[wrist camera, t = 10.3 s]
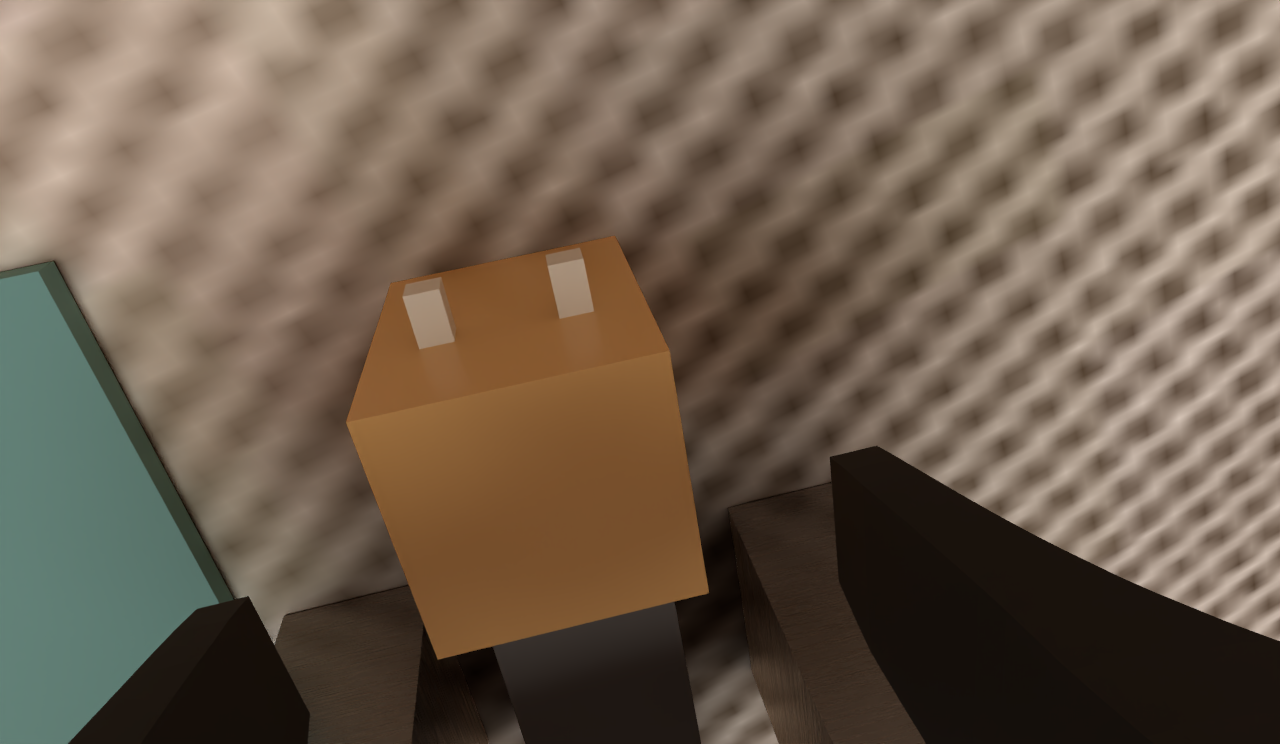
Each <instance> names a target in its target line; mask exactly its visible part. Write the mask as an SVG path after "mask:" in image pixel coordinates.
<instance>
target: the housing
mask: <svg viewBox="0 0 1280 744" xmlns="http://www.w3.org/2000/svg"><path fill="white" fill-rule="evenodd" d="M728 512H729V519H730V526H731V533H732V539H733V546H734V553H735V560H736V566H737V573H738V580H739V587H740V594H741V600H742V607H743V614H744V621H745V628H746V634H747V641H748V648H749V655H750V662H751V668H752V673H753V676H754V678H755V681H756V684H757V686H758V689H759V692H760V694H761V697H762V700H763V702H764V705H765V708H766V710H767V713H768V716H769V718H770V721H771V724H772V726H773V729H774V732H775V734H776V737H777V739H778V742H779V744H926V743H925V741H924V740H923V738H922V736H921V735H920V733H919V731H918V730H917V728H916V727H915V725H914V723H913V722H912V720H911V718H910V717H909V715H908V713H907V712H906V710H905V709H904V707H903V705H902V704H901V702H900V700H899V699H898V697H897V695H896V694H895V692H894V690H893V689H892V687H891V685H890V684H889V682H888V680H887V679H886V677H885V675H884V674H883V672H882V670H881V669H880V667H879V665H878V664H877V662H876V660H875V658H874V657H873V655H872V653H871V652H870V649H869V647H868V645H867V643H866V641H865V639H864V637H863V634H862V632H861V630H860V628H859V626H858V624H857V622H856V619H855V617H854V615H853V613H852V610H851V608H850V606H849V604H848V601H847V599H846V597H845V594H844V592H843V590H842V588H841V585H840V583H839V579H838V565H837V551H836V536H835V522H834V508H833V494H832V483H828V484H824V485H820V486H816V487H812V488H808V489H804V490H799V491H795V492H791V493H787V494H783V495H779V496H775V497H771V498H767V499H762V500H758V501H754V502H750V503H746V504H742V505H738V506H734V507H730V508H728ZM275 648H276V650H277V652H278V653H279V655H280V657H281V659H282V661H283V663H284V665H285V667H286V669H287V671H288V673H289V674H290V676H291V678H292V680H293V682H294V684H295V686H296V688H297V690H298V692H299V694H300V695H301V697H302V699H303V701H304V703H305V705H306V707H307V709H308V711H309V713H310V721H309V732H308V744H488V737H487V735H486V732H485V730H484V727H483V724H482V722H481V719H480V716H479V714H478V711H477V709H476V706H475V703H474V701H473V698H472V695H471V693H470V690H469V688H468V685H467V682H466V680H465V677H464V674H463V672H462V669H461V666H460V664H459V661H458V659H457V656H456V655H455V656H451V657H447V658H442V659H437V656H436V654H435V651H434V649H433V646H432V643H431V641H430V638H429V636H428V633H427V631H426V628H425V625H424V623H423V620H422V618H421V615H420V613H419V610H418V607H417V605H416V602H415V600H414V597H413V594H412V592H411V589H410V587H409V586H405V587H401V588H397V589H393V590H389V591H385V592H381V593H377V594H372V595H368V596H364V597H360V598H356V599H352V600H348V601H344V602H340V603H336V604H331V605H327V606H323V607H319V608H315V609H311V610H307V611H303V612H299V613H294V614H290V615H286V616H284V618H283V621H282V624H281V627H280V630H279V633H278V636H277V639H276V642H275Z"/></svg>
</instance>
